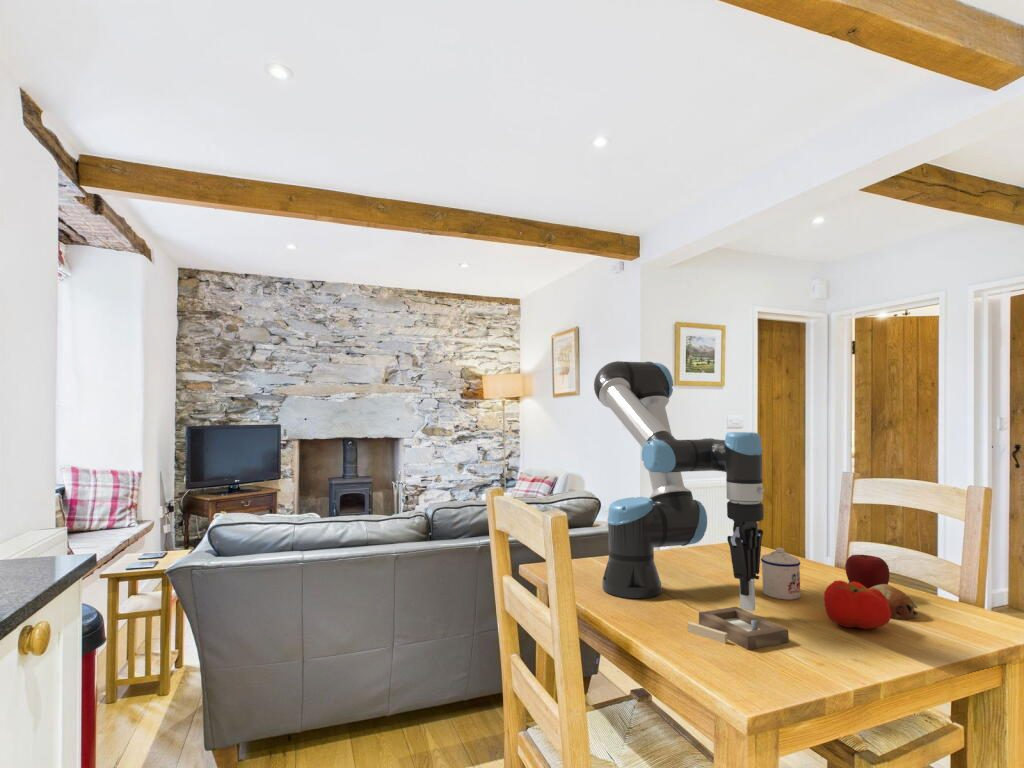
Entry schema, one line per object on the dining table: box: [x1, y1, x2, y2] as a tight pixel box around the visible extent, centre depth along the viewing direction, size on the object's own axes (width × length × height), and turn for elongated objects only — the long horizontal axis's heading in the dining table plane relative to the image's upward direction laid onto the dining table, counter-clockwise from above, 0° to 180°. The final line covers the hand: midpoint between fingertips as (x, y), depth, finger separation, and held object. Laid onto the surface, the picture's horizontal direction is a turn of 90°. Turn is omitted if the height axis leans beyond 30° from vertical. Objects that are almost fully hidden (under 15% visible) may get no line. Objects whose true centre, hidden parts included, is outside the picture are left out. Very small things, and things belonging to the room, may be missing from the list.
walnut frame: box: [698, 606, 790, 651], centre depth 113 cm, size 14×10×2 cm
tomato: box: [823, 579, 891, 630], centre depth 121 cm, size 14×13×9 cm
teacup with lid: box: [760, 547, 801, 601], centre depth 143 cm, size 12×9×12 cm
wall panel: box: [686, 620, 758, 644], centre depth 114 cm, size 22×16×5 cm
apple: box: [845, 554, 890, 588], centre depth 142 cm, size 10×10×10 cm
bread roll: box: [869, 583, 918, 620], centre depth 129 cm, size 10×10×8 cm
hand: (747, 608), depth 123 cm, fingers closed
